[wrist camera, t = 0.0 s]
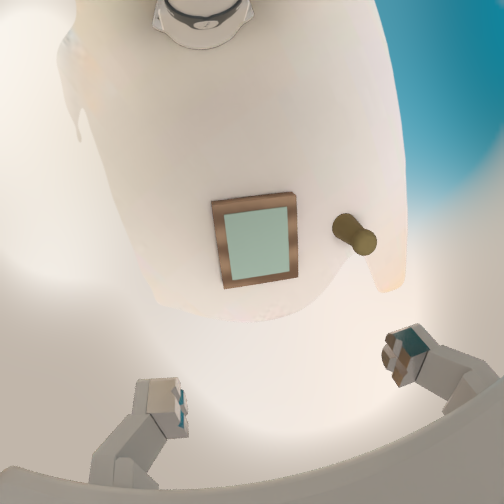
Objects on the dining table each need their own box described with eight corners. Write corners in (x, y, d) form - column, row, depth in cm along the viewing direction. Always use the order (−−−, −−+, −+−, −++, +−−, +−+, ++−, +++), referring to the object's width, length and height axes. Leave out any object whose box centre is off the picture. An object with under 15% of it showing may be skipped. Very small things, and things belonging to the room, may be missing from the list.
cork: (348, 207, 61) (374, 225, 51) (360, 227, 63) (385, 247, 54) (327, 224, 62) (350, 244, 52) (340, 244, 64) (362, 266, 54)
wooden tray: (211, 201, 56) (211, 206, 53) (291, 191, 57) (296, 195, 54) (222, 281, 63) (224, 290, 60) (294, 270, 65) (298, 277, 62)
